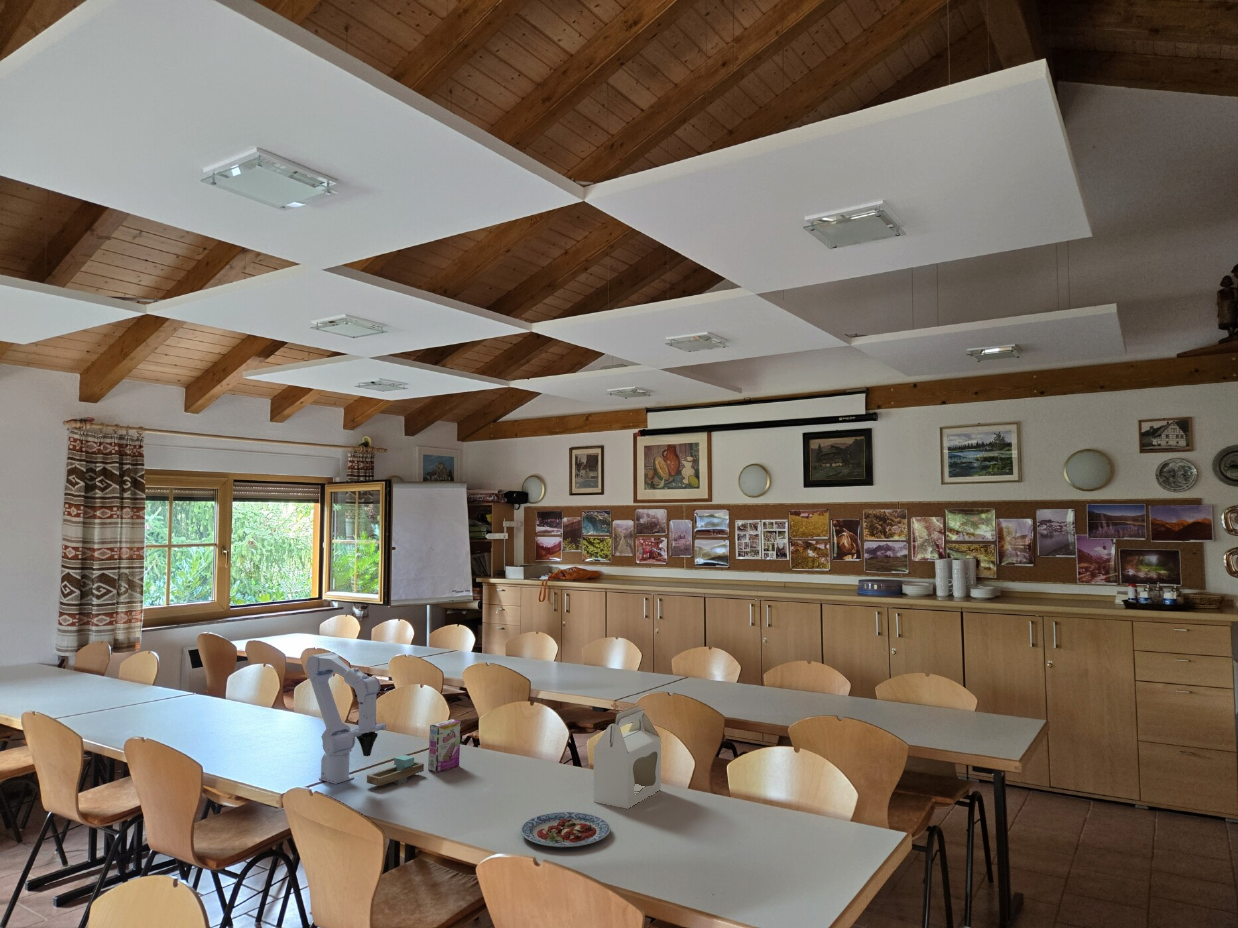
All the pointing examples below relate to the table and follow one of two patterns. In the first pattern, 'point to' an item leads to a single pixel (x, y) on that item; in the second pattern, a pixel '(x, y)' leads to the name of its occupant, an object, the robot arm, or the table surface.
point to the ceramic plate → (565, 829)
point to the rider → (403, 762)
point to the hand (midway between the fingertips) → (366, 755)
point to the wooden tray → (394, 775)
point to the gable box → (627, 761)
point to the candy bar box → (444, 745)
